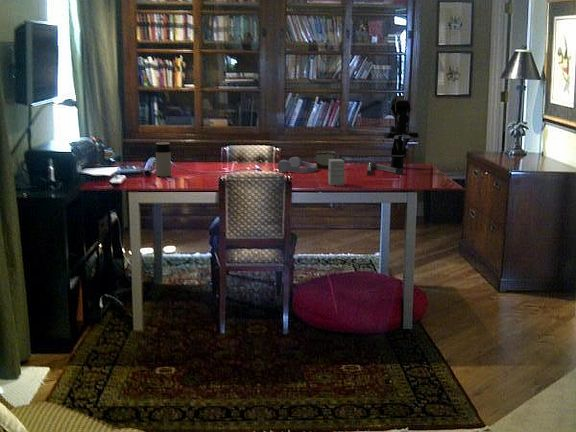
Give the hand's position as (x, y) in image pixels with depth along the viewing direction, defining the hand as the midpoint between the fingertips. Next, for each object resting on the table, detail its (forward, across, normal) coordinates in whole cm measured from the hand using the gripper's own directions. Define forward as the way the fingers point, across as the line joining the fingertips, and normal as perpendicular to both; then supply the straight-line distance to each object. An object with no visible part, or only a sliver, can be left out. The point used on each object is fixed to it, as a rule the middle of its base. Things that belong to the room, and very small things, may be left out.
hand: (400, 150), depth 449 cm
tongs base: (+12, +16, -3) cm, 20 cm away
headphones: (+13, +54, -17) cm, 58 cm away
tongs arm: (+12, +6, -1) cm, 13 cm away
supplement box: (+12, +48, +36) cm, 61 cm away
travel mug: (+12, +132, -11) cm, 133 cm away
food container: (+12, +38, -22) cm, 45 cm away
